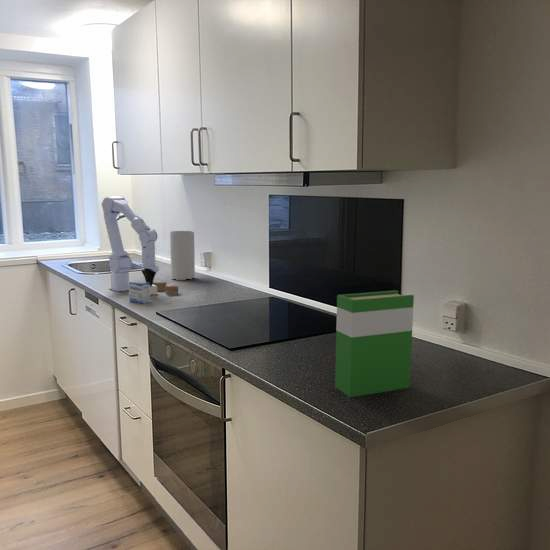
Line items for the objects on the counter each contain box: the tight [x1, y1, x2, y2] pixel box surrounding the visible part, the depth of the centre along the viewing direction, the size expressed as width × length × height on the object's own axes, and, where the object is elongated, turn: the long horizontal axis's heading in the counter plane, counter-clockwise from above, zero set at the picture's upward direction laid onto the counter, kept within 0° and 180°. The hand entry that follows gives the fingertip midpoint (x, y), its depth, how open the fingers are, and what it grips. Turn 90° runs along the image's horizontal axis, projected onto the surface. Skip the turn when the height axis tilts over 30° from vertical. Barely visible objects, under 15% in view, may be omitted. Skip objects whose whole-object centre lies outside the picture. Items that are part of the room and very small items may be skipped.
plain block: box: [150, 284, 158, 296], centre depth 273 cm, size 5×5×4 cm
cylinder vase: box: [169, 230, 196, 281], centre depth 314 cm, size 12×12×25 cm
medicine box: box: [128, 280, 151, 304], centre depth 254 cm, size 8×4×9 cm, turn 62°
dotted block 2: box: [164, 283, 179, 296], centre depth 273 cm, size 5×5×4 cm
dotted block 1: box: [153, 280, 168, 292], centre depth 282 cm, size 5×5×4 cm
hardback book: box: [334, 289, 415, 398], centre depth 149 cm, size 18×7×24 cm, turn 114°
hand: (149, 285), depth 272 cm, fingers closed
